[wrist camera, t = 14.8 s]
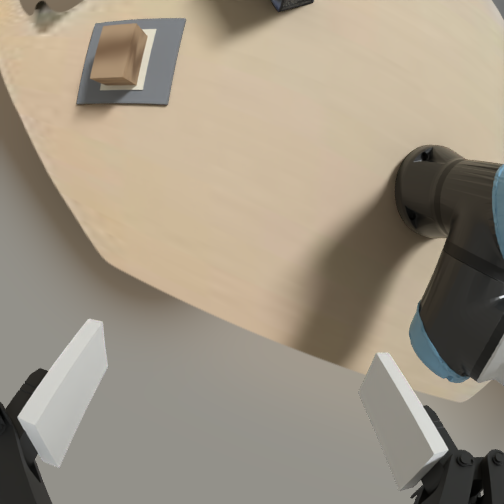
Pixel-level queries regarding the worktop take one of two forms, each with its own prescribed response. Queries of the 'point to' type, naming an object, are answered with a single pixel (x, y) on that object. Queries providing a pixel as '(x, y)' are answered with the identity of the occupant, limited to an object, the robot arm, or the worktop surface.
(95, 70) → the block
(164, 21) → the mat
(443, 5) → the worktop surface
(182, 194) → the worktop surface
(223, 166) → the worktop surface
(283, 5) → the small box
